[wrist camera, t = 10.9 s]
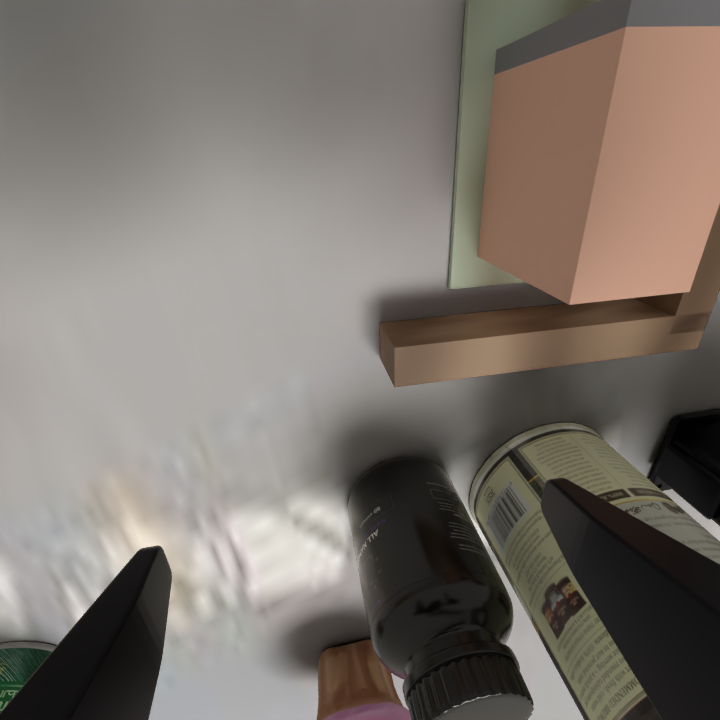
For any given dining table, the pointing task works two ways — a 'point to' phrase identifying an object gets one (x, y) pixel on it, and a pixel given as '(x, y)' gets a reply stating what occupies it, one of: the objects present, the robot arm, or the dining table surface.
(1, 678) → the canned tomato
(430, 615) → the supplement bottle
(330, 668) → the cupcake
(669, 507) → the coffee can
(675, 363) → the dining table surface
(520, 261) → the terracotta block
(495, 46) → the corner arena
